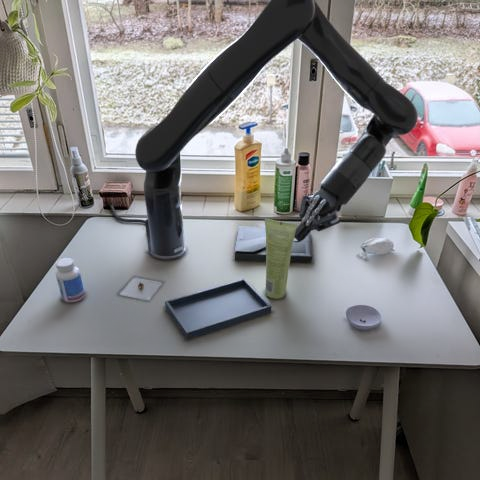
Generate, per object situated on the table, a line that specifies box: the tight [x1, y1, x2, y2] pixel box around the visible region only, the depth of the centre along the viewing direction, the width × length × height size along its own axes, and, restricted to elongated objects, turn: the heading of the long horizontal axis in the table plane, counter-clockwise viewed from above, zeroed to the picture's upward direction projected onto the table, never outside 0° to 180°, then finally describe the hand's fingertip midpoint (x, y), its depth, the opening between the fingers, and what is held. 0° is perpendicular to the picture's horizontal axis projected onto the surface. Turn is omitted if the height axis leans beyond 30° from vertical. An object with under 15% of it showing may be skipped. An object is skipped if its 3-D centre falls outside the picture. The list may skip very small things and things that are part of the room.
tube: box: [264, 218, 298, 299], centre depth 117 cm, size 6×5×20 cm
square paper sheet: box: [118, 277, 163, 301], centre depth 124 cm, size 8×8×2 cm
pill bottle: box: [55, 257, 86, 303], centre depth 119 cm, size 6×5×10 cm
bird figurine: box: [358, 237, 396, 261], centre depth 136 cm, size 5×7×10 cm
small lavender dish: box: [345, 304, 383, 331], centre depth 114 cm, size 8×8×2 cm
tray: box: [164, 277, 272, 340], centre depth 117 cm, size 21×13×2 cm, turn 118°
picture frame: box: [234, 225, 313, 264], centre depth 140 cm, size 16×3×21 cm
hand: (296, 238), depth 116 cm, fingers closed
